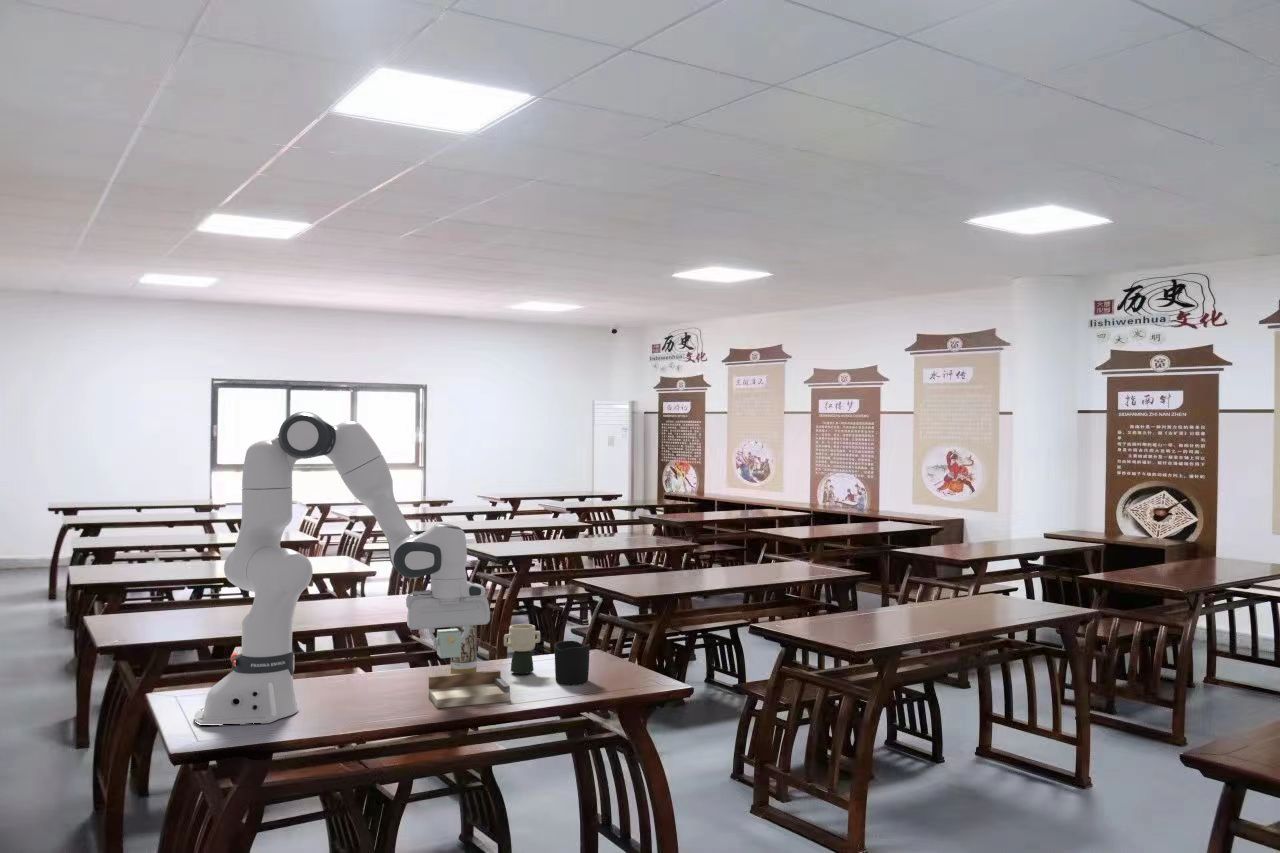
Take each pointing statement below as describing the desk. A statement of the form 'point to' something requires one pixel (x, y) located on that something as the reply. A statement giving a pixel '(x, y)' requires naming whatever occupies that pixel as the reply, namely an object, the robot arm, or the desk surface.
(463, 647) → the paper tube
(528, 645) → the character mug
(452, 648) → the mint green box
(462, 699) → the wooden tray
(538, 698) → the desk surface
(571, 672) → the pen holder
